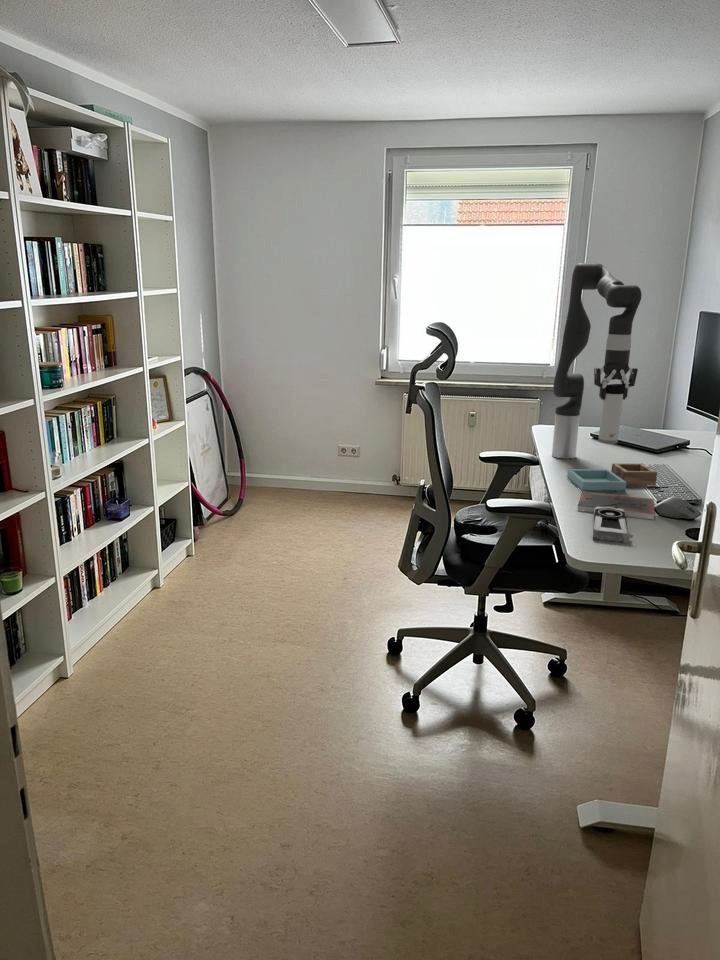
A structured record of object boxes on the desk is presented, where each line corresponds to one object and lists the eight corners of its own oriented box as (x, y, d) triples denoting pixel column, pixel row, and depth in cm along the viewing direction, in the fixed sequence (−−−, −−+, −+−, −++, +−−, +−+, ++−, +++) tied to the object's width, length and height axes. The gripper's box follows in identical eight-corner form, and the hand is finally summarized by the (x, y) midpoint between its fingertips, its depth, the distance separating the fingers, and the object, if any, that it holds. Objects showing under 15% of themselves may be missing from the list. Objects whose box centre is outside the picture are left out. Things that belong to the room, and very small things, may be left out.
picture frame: (577, 512, 208) (653, 521, 200) (577, 504, 207) (654, 513, 200) (581, 497, 223) (652, 505, 215) (582, 490, 222) (653, 498, 214)
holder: (610, 476, 245) (612, 463, 244) (640, 476, 245) (642, 463, 244) (623, 486, 234) (625, 472, 232) (655, 486, 234) (657, 472, 233)
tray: (567, 479, 242) (567, 469, 241) (607, 479, 242) (608, 469, 242) (582, 492, 226) (583, 482, 225) (625, 492, 227) (626, 482, 226)
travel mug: (615, 445, 227) (622, 385, 222) (595, 442, 231) (602, 383, 225) (621, 441, 232) (628, 383, 226) (601, 439, 236) (607, 381, 230)
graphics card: (593, 530, 182) (593, 503, 205) (592, 542, 183) (592, 514, 206) (633, 534, 179) (629, 507, 202) (632, 546, 180) (628, 517, 203)
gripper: (634, 347, 227) (629, 397, 231) (592, 347, 226) (587, 397, 231) (644, 349, 219) (638, 401, 224) (600, 349, 219) (595, 401, 223)
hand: (612, 399), depth 227 cm, fingers closed on travel mug, 6 cm apart
